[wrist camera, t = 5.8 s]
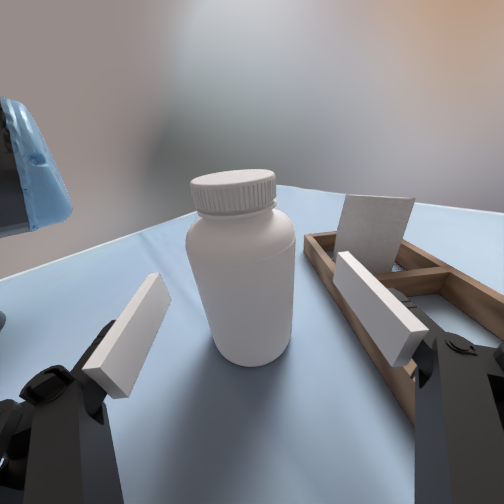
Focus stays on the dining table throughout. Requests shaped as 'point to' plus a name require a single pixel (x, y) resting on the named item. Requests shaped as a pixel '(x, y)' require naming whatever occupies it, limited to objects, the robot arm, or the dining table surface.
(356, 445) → the dining table surface
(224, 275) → the pill bottle
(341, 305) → the slot rack
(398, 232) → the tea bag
